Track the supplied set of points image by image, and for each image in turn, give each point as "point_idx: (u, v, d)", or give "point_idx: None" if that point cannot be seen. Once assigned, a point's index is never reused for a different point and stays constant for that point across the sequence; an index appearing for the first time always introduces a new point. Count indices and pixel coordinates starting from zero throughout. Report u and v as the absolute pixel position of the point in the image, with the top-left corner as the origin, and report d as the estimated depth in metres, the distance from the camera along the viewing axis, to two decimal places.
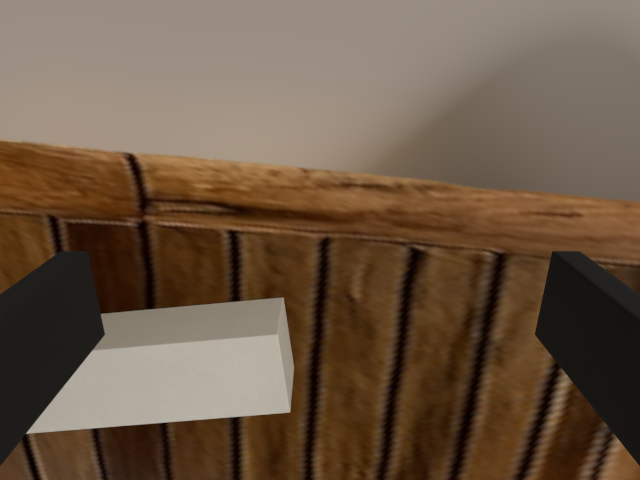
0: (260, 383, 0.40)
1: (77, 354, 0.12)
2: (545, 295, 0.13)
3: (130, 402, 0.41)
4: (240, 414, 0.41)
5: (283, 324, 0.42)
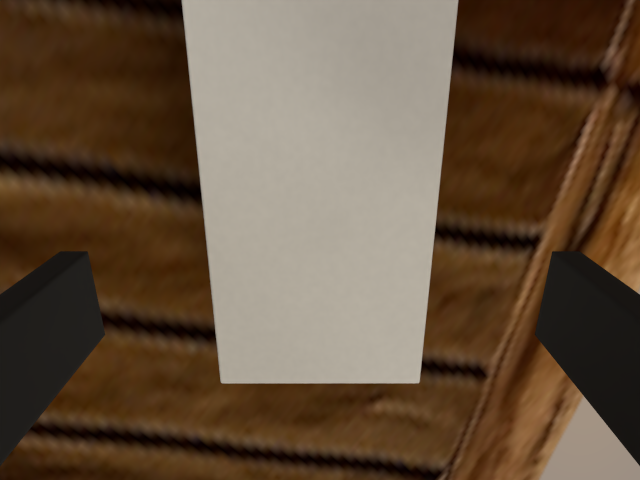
0: (304, 339, 0.18)
1: (77, 354, 0.12)
2: (545, 295, 0.13)
3: (269, 7, 0.14)
4: (217, 288, 0.17)
5: None
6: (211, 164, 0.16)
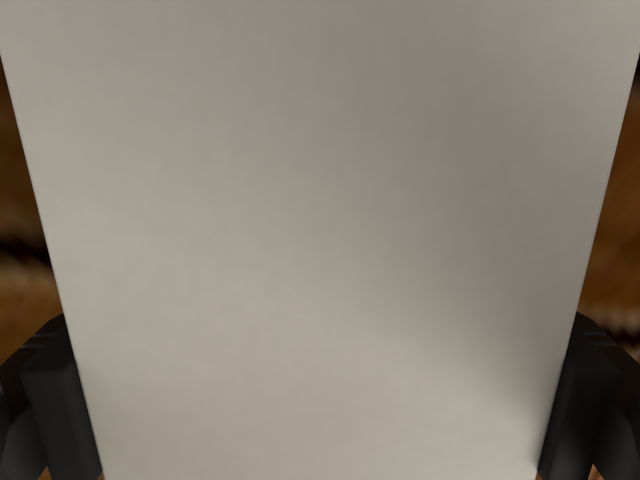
0: None
1: None
2: None
3: None
4: None
5: None
6: (83, 281, 0.07)
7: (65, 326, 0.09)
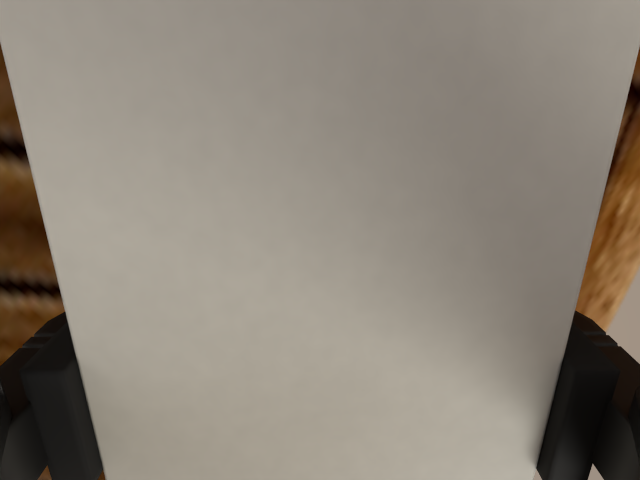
0: None
1: None
2: None
3: None
4: None
5: None
6: (84, 278, 0.07)
7: (65, 326, 0.09)
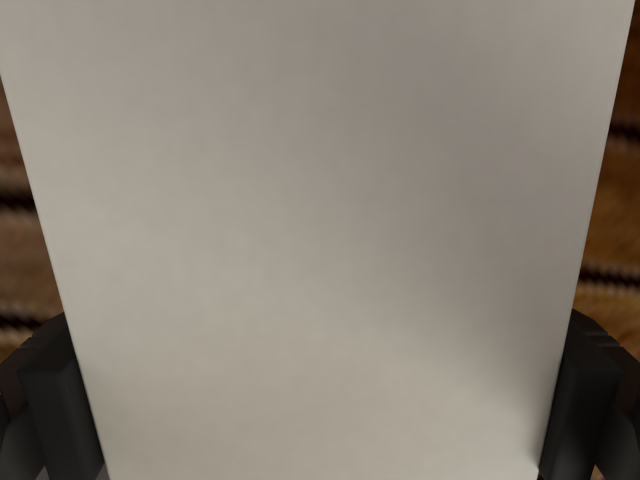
0: None
1: None
2: None
3: None
4: None
5: None
6: (82, 277, 0.07)
7: (63, 326, 0.09)
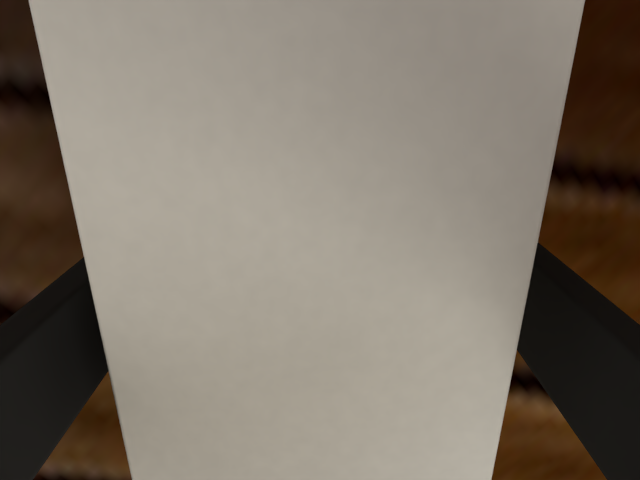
0: None
1: None
2: None
3: None
4: (135, 445, 0.10)
5: None
6: (105, 247, 0.08)
7: None
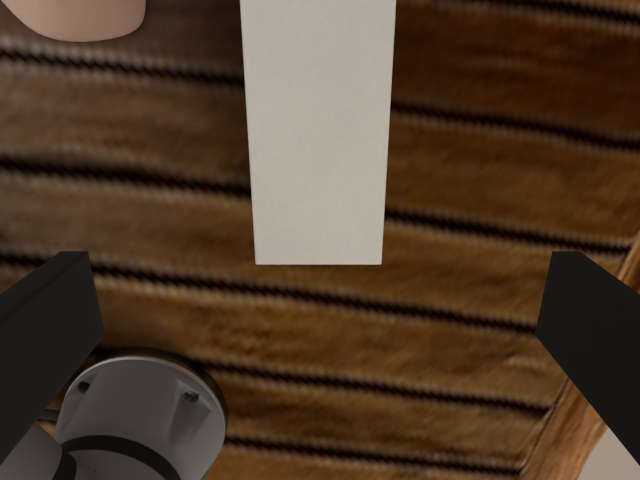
0: (308, 233, 0.29)
1: (76, 354, 0.12)
2: (545, 295, 0.13)
3: (289, 31, 0.25)
4: (255, 199, 0.29)
5: None
6: (254, 121, 0.27)
7: None
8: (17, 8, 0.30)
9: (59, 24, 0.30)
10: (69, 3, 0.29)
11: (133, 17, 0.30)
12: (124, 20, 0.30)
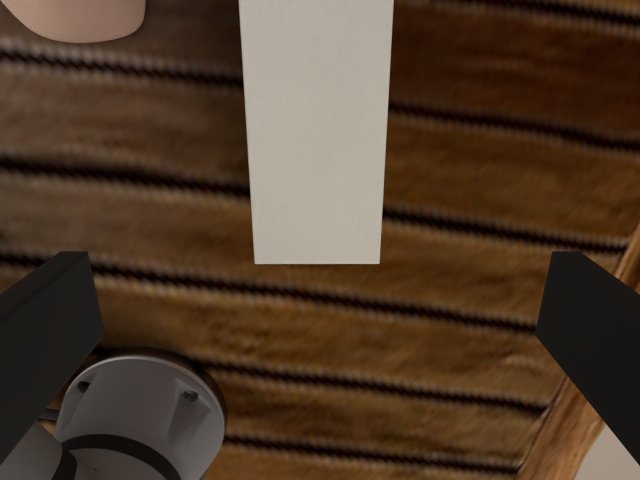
0: (307, 233, 0.30)
1: (77, 354, 0.12)
2: (545, 295, 0.13)
3: (288, 32, 0.25)
4: (254, 199, 0.29)
5: None
6: (253, 121, 0.27)
7: None
8: (17, 9, 0.30)
9: (59, 25, 0.30)
10: (69, 5, 0.29)
11: (133, 18, 0.30)
12: (124, 21, 0.30)
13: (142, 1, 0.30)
